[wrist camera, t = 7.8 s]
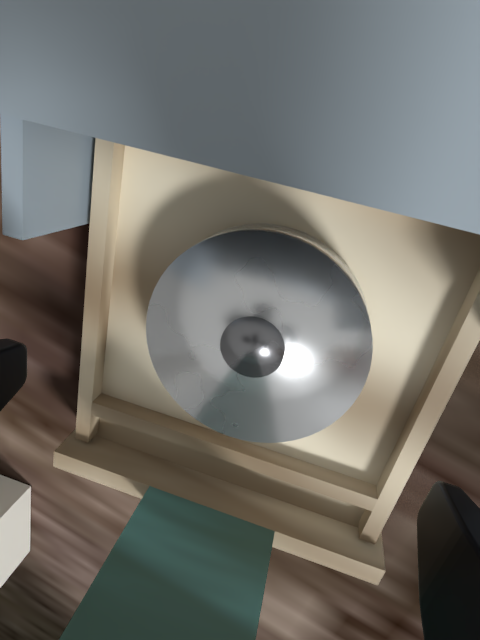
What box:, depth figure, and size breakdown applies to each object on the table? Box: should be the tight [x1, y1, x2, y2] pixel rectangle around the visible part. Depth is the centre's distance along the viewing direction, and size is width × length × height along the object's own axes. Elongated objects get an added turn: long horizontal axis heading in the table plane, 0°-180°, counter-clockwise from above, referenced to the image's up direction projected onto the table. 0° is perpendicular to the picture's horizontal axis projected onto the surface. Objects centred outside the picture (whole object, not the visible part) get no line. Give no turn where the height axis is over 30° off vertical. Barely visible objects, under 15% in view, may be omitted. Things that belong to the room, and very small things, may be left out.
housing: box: [0, 0, 480, 240], centre depth 9 cm, size 14×14×5 cm
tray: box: [53, 138, 480, 640], centre depth 11 cm, size 14×13×8 cm
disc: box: [146, 223, 373, 443], centre depth 13 cm, size 7×7×2 cm
